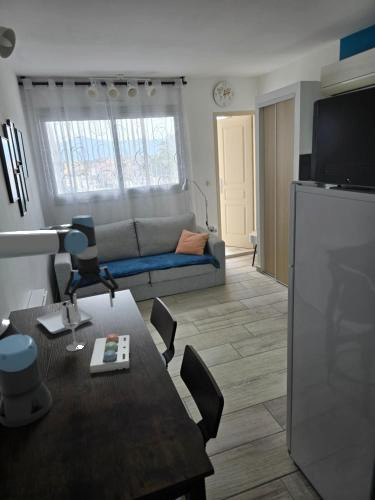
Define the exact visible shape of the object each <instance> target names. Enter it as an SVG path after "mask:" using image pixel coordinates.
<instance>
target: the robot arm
mask: <svg viewBox="0 0 375 500" xmlns="http://www.w3.org/2000/svg"><path fill="white" fill-rule="evenodd" d="M95 228H96V227H95V223H94V219H93V216H91V215H87V214H86V215H85V214H84V215H77V216H73V217H72V218H71V222H70V223H65V224H58V225H52V226H51V225H50V226H49V225H48V226H45V227H40V228H39V230H22V231H21V230H20V231H0V259H1V260H2V259H13V258H24V257H25V258H26V257H33V256H34V257H35V256H45V255H56V254H59V255H60V254H70V255H76V257H77V265H78V270H75V269H71V270H70V276H69V280H68V283H67V285H66V288H65V291H64V295H65V296H68V297H69V299H70V300H69V301H71V304H73V303H74V308H75V312H77V310H78V307H79V305H78V300H77V294H76V292H77V290H78V289H79V287H80V285H81V284H82V283H83V282H84V281H86V282H87V281H89V282H90V281H95V280H97V281H99V282H100V283H101V284H102V285H104V286H105V287H106V288H107V290H108V289H109V290H108V293H109V294H108V295H109V302H110V308H114V304H113V303H114V301H113V299H115V297H116V294H115V290H119V284H118V282H117V281H116V280H115V278H114V277H113V275H112V274H111V273H110V271H109V268H108V266H107V265H105V266H104V267H100V263H99V256H98V247H97V240H96V231H95ZM101 272H102V273H103V274H105V276H106V277H107V279H108V280H107V279H105V278H104V277H103V276H102V275H101ZM77 275H78V276H79V277H80V278H79V279H78V280H77V282H76V284H74V286H73V288H72V289H71V286H72V284H73V282H74V278H75V277H76V276H77ZM109 281H110V282H109ZM70 289H71V290H70ZM77 305H78V306H77ZM52 399H53V398H52V394H51V392H50V390H49V389H48V387H47V386H46V384H45V383H44V381H43V376H42V372H41V366H40V361H39V353H38V347H37V344H36V342H35V340H34V339H33V337H31V336H30V335H27V334H22V332H21V330H20V329H19V328H18V327H16V326H15V325H14V324H13V322H11V320H10V319H9V318H7V317H0V423H1V425H3V426H5V427H7V428H19V427H24V426H27V425H29V424H32V423H34V422H35V421H38V420H39V419H41V418H42V417H43V416H45V414H47V413H48V412H49V410H50V409H51V407H52V404H53V400H52Z"/></svg>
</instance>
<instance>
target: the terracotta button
mask: <svg viewBox="0 0 375 500" xmlns="http://www.w3.org/2000/svg"><path fill="white" fill-rule="evenodd" d="M117 336H118V335H117V334H116V333H109V334H108V335H107V336H106V337H105V338H107V343H108V342H115V343H118V339H117Z"/></svg>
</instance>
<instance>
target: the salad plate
mask: <svg viewBox="0 0 375 500" xmlns="http://www.w3.org/2000/svg"><path fill="white" fill-rule="evenodd" d="M78 308H79V310H80V314H81V323H80V324H79V326H81V325H84V324H86V323H88V322H90V321H91V320H93V318H94V316H93V315H92V314H91V313H90V312H88V311H85V310H84V309H82V308H81V307H80V306H78ZM61 313H62V309H61V310H57V311H54V312H51V313H49V314H45V315H42V316H39V317H37V318H36V321H38V322H39V323H40V324H41V325H42V326H44V327H45V328H46V329H47V331H49V332H50V333H51V334H59V333H63V332H65V331H68V330H69V329H68V328H66V327H65V326H63V324H62V320H61Z"/></svg>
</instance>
